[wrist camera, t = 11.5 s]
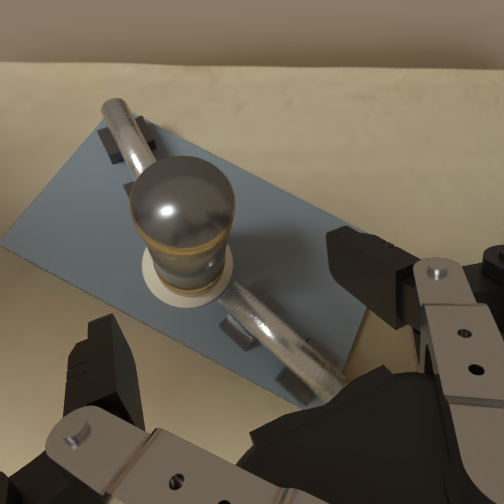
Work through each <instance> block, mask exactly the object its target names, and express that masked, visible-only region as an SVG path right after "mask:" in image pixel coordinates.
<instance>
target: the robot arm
mask: <svg viewBox="0 0 504 504" xmlns="http://www.w3.org/2000/svg"><path fill="white" fill-rule="evenodd" d="M326 246H327V256H328V265H329V270H330V273H331V275H332V277H333V279H334V280H335V281H336V282H337V283H338V284H339V285H340V286H342V287H343V288H344V289H345V290H347V291H348V292H349V293H350V294H352V295H353V296H354V297H355V298H356V299H358V300H359V301H360V302H361V303H363V304H364V305H365V306H366V307H368V308H369V309H370V310H371V311H373V312H374V313H375V314H376V315H377V316H379V317H380V318H381V319H382V320H384V321H385V322H386V323H387V324H389V325H390V326H391V327H392V328H394V329H395V330H397V329H399V328H401V327H403V326H405V325H407V324H409V325H410V326H412V330H411V335H412V342H413V348H414V355H415V362H416V368H417V372H405V373H396V374H392V373H391V372H390V371H389V370H388V369H387V368H386V367H385V366H384V365H382V366H380V367H378V368H376V369H374V370H372V371H370V372H368V373H366V374H364V375H362V376H360V377H358V378H356V379H354V380H352V381H351V382H350V383H349V384H348V385H347V386H346V387H345V388H344V389H342V390H341V391H340V392H339V393H338V394H337V395H336V396H335V397H334V398H332V399H331V400H330V401H329V402H328V403H327V404H325V405H322V406H318V407H314V408H310V409H306V410H302V411H298V412H293V413H289V414H285V415H283V416H281V417H279V418H277V419H275V420H273V421H271V422H269V423H267V424H265V425H263V426H261V427H259V428H257V429H255V430H253V431H251V432H249V434H250V437H251V440H252V443H253V446H252V447H251V448H250V449H249V450H247V452H246V453H245V454H244V455H243V456H242V457H241V458H240V459H239V461H238V462H237V464H236V465H234V464H232V463H230V462H228V461H226V460H224V459H222V458H220V457H218V456H216V455H214V454H212V453H210V452H208V451H206V450H204V449H202V448H200V447H198V446H196V445H194V444H192V443H190V442H188V441H186V440H184V439H182V438H180V437H178V436H176V435H174V434H172V433H170V432H168V431H166V430H164V429H161V428H156V429H155V430H154V431H153V432H152V433H151V434H149V433H147V432H146V431H145V425H144V418H143V411H142V405H141V398H140V391H139V385H138V378H137V371H136V365H135V361H134V358H133V355H132V352H131V350H130V347H129V345H128V343H127V341H126V339H125V337H124V335H123V333H122V331H121V329H120V327H119V325H118V323H117V321H116V319H115V317H114V315H113V314H112V313H111V314H109V315H106V316H103V317H101V318H98V319H95V320H93V321H90V322H88V339H86V340H84V341H81V342H79V343H76V345H75V347H74V348H73V350H72V352H71V353H70V355H69V357H68V368H67V369H68V371H67V382H66V389H65V400H64V411H63V418H62V419H61V420H60V421H59V422H58V423H57V424H56V425H55V427H54V428H53V429H52V431H51V432H50V434H49V436H48V438H47V441H46V446H45V449H46V450H45V451H43V452H42V453H41V454H40V455H39V456H38V457H36V458H35V459H34V460H32V461H31V462H30V463H28V464H27V465H25V466H24V467H23V468H21V469H20V470H19V471H17V472H16V473H14V474H13V475H12V476H10V477H9V478H8V477H7V476H6V475H5V474H4V473H3V472H0V504H504V245H497V246H492V247H490V248H487V249H486V250H485V251H484V253H483V260H482V263H478V264H473V265H467V266H462V267H461V266H460V265H459V264H458V263H456V262H454V261H452V260H449V259H445V258H426V259H422V260H421V259H419V258H417V257H415V256H413V255H412V254H410V253H408V252H406V251H404V250H402V249H400V248H398V247H394V245H393V244H391V243H389V242H386V241H385V240H383V239H381V238H380V237H378V236H376V235H372V234H367V233H360V232H358V231H356V230H354V229H352V228H351V227H349V226H346V225H345V226H342V227H339V228H337V229H334V230H331V231H329V232H327V233H326Z"/></svg>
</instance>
